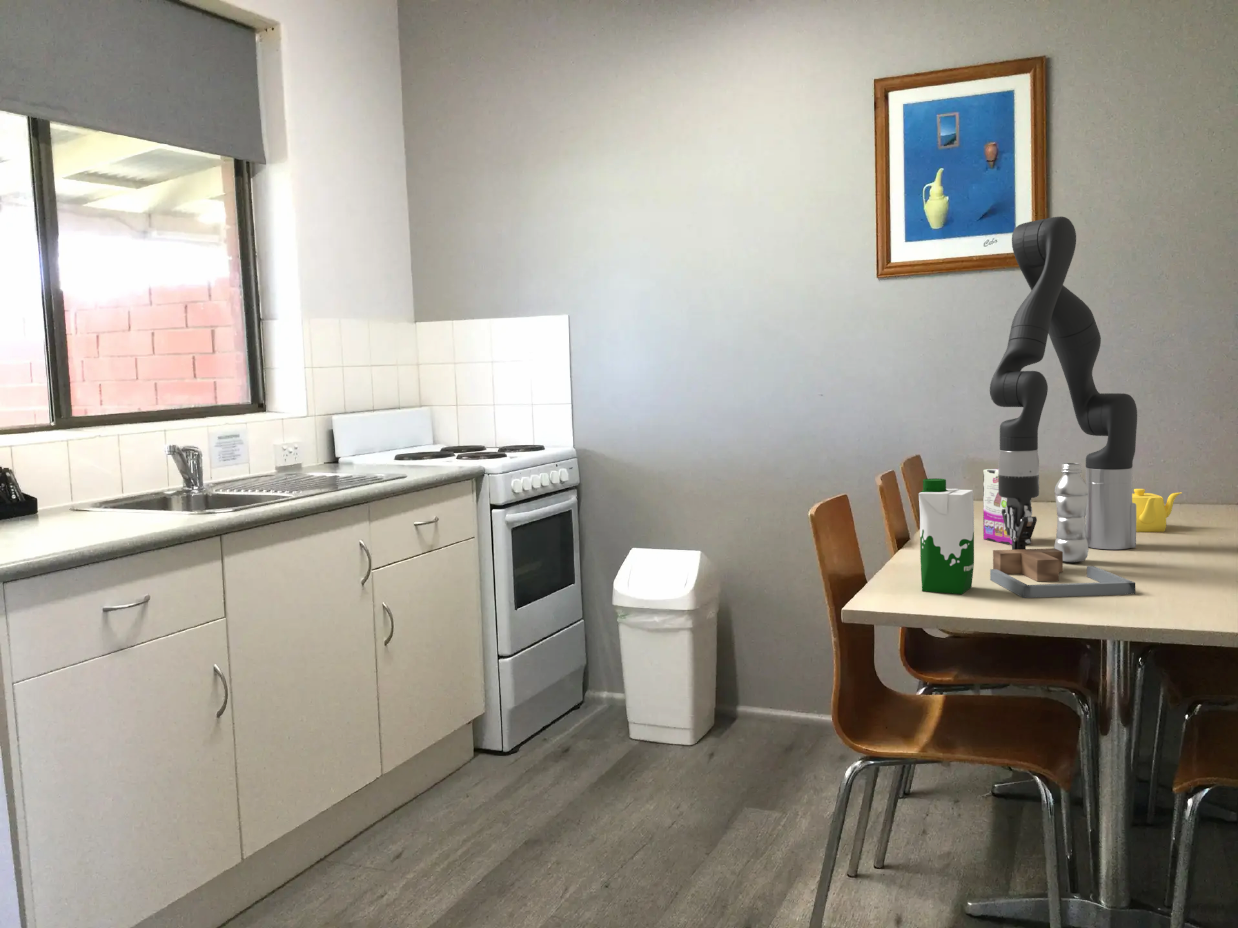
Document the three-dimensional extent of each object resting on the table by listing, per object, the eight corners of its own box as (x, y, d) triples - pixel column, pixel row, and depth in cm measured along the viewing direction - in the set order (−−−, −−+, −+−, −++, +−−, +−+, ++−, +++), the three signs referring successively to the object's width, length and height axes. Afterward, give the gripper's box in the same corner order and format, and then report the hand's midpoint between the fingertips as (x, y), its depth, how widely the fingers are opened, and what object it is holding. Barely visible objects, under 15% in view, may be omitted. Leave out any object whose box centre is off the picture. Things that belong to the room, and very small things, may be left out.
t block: (1054, 568, 209) (1054, 548, 208) (1080, 580, 197) (1080, 558, 196) (993, 570, 209) (993, 550, 209) (1015, 582, 197) (1015, 560, 197)
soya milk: (929, 582, 199) (928, 476, 197) (978, 586, 194) (978, 478, 192) (915, 591, 192) (914, 481, 190) (966, 595, 187) (965, 483, 185)
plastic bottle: (1087, 559, 217) (1087, 462, 215) (1090, 565, 211) (1090, 465, 209) (1053, 558, 219) (1053, 462, 217) (1054, 564, 213) (1055, 465, 211)
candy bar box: (1032, 544, 237) (1032, 471, 236) (1014, 546, 236) (1014, 472, 234) (1000, 537, 248) (1000, 467, 246) (982, 539, 246) (981, 468, 245)
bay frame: (1093, 576, 200) (1093, 565, 200) (1135, 594, 184) (1135, 582, 184) (990, 579, 200) (990, 569, 200) (1023, 597, 184) (1023, 586, 183)
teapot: (1153, 535, 244) (1154, 493, 243) (1095, 529, 255) (1095, 489, 254) (1184, 528, 252) (1184, 488, 252) (1126, 523, 264) (1126, 484, 263)
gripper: (1051, 475, 202) (1051, 565, 204) (1025, 468, 216) (1025, 552, 217) (1011, 477, 203) (1011, 566, 204) (988, 470, 216) (988, 554, 217)
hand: (1018, 559), depth 211 cm, fingers closed
